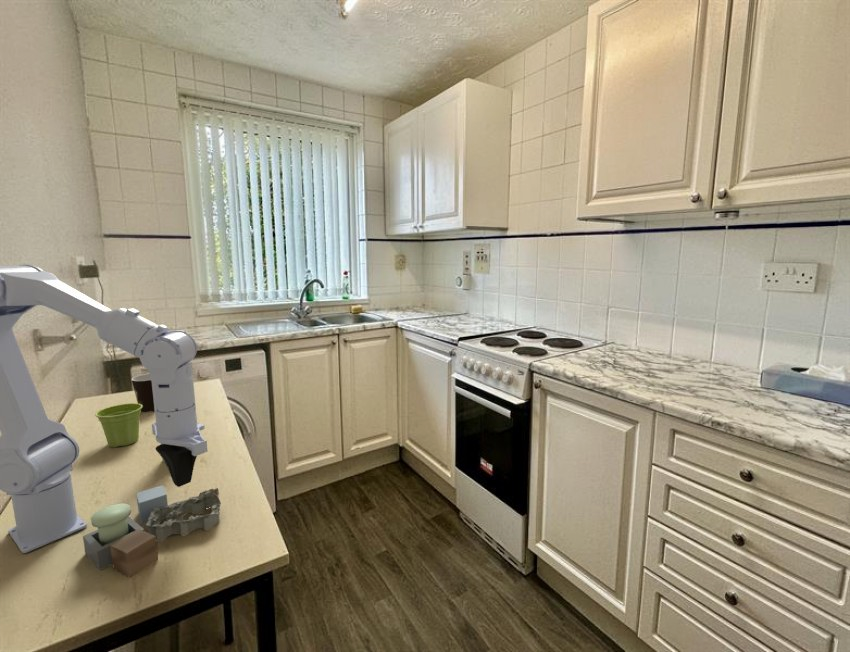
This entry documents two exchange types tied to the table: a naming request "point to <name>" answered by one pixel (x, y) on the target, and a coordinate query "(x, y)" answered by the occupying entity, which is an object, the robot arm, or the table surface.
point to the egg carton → (181, 508)
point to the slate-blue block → (150, 501)
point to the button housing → (103, 553)
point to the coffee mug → (144, 392)
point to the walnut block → (134, 553)
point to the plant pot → (120, 423)
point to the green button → (111, 522)
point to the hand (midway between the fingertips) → (182, 483)
